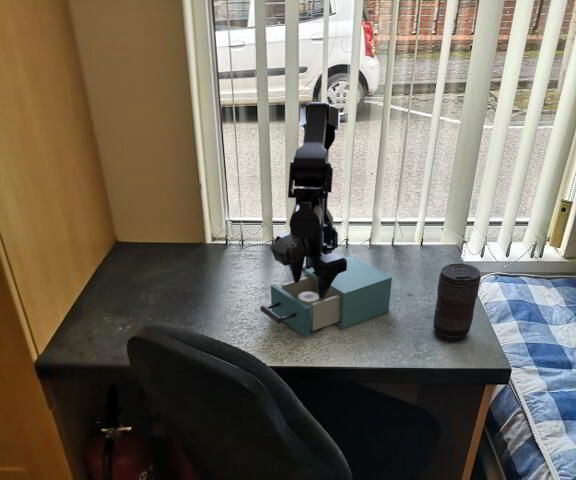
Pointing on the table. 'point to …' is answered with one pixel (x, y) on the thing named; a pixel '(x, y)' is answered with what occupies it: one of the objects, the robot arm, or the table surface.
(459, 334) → the camera lens
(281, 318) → the drawer
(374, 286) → the teal cabinet
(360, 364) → the table surface
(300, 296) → the label roll
